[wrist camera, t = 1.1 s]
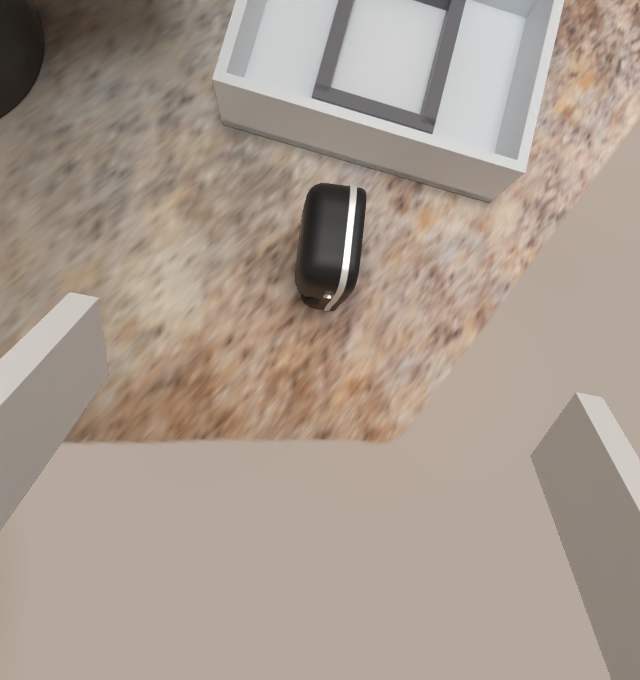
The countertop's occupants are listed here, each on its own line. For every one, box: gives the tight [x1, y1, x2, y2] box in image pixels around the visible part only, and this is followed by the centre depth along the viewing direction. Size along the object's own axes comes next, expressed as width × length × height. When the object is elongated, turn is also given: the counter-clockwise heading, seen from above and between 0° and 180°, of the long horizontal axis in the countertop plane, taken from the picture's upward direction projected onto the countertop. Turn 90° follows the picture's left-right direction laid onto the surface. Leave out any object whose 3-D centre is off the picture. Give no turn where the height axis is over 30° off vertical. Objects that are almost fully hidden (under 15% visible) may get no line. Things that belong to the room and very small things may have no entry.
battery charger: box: [295, 183, 366, 311], centre depth 33 cm, size 7×4×11 cm, turn 174°
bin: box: [212, 0, 564, 203], centre depth 37 cm, size 24×18×6 cm
